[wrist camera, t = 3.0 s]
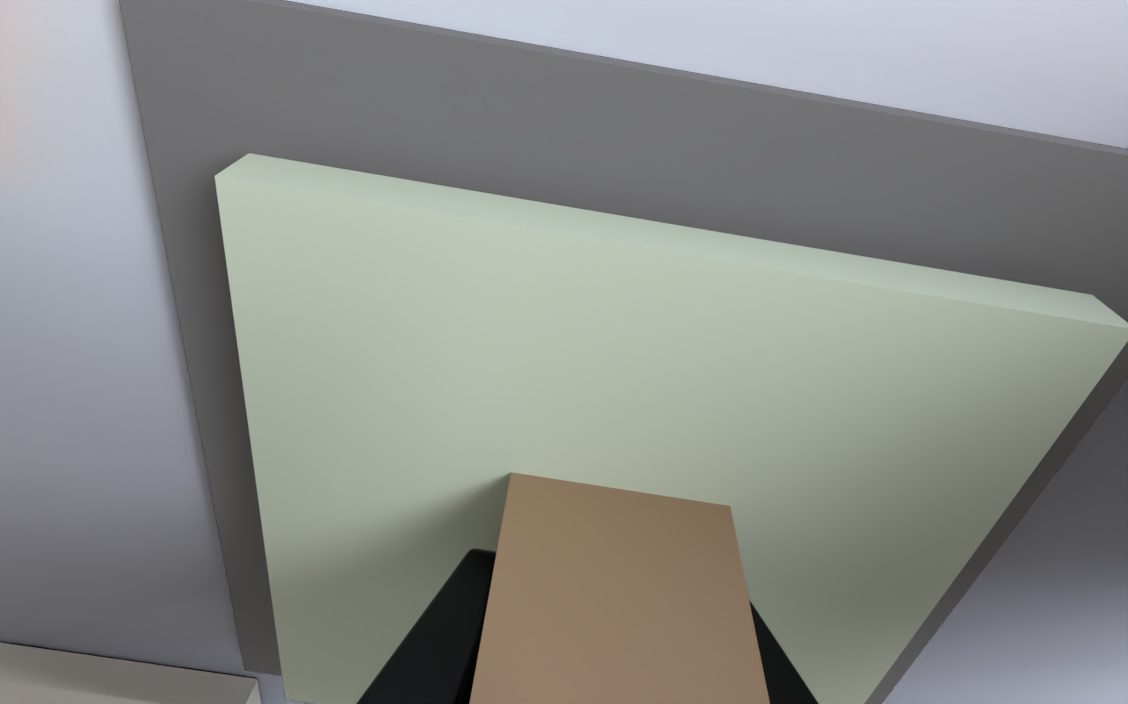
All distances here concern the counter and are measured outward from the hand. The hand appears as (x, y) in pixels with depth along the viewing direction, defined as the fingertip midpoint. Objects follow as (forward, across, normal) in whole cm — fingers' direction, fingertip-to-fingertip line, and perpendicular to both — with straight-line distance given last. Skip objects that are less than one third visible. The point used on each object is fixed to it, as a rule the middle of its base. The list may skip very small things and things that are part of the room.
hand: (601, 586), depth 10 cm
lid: (+1, 0, 0) cm, 1 cm away
